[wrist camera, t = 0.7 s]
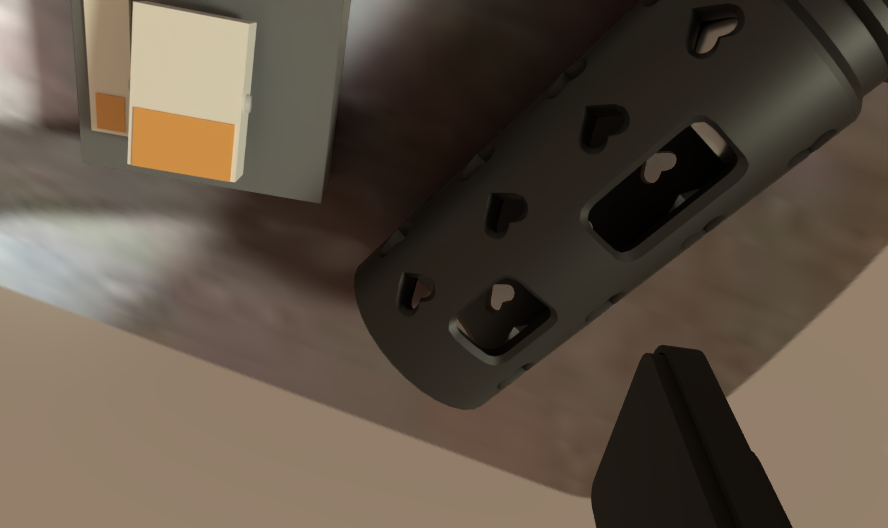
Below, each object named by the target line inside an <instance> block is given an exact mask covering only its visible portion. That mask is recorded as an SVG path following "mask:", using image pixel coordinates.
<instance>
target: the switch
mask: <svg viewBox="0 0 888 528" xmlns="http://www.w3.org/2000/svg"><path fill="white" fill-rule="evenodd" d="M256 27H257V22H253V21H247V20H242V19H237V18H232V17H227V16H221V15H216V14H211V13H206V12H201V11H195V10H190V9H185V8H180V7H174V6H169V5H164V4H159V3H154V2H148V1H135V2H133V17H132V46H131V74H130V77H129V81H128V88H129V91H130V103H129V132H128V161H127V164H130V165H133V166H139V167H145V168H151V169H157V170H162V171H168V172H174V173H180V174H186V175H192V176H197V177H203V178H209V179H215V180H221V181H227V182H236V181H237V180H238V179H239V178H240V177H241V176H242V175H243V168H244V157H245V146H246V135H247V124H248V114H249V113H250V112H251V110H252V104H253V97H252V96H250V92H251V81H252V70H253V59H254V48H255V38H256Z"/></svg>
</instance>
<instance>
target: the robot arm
mask: <svg viewBox="0 0 888 528" xmlns="http://www.w3.org/2000/svg"><path fill="white" fill-rule="evenodd" d="M591 502H592V509H593V514H594V519H595V523H596V528H792V525H791V524H790V521H789V519H788V517H787V515H786V513H785V511H784V510H783V507H782V505H781V503H780V501H779V499H778V497H777V495H776V493H775V491H774V489H773V487H772V485H771V483H770V481H769V479H768V477H767V475H766V473H765V471H764V469H763V467H762V465H761V462H760V461H759V459H758V458H757V456H756V455H755V453H754V452H752V451H751V449H750V447H749V445H748V443H747V441H746V439H745V437H744V435H743V433H742V431H741V429H740V427H739V425H738V422H737V420H736V418H735V416H734V414H733V412H732V410H731V408H730V406H729V404H728V402H727V400H726V398H725V396H724V394H723V392H722V389H721V387H720V385H719V383H718V381H717V379H716V377H715V375H714V373H713V371H712V369H711V367H710V365H709V363H708V361H707V359H706V357H705V355H704V354H703V352H702V351H700V350H696V349H689V348H681V347H674V346H667V345H661V346H659V347H658V348H657V349H656V350H655V352H654V354H652V353H645V354H644V355H643V356H642V358H641V360H640V362H639V365H638V367H637V370H636V372H635V375H634V378H633V380H632V383H631V385H630V388H629V391H628V393H627V396H626V398H625V401H624V403H623V406H622V409H621V411H620V414H619V416H618V419H617V422H616V424H615V427H614V429H613V432H612V434H611V437H610V440H609V442H608V445H607V447H606V450H605V453H604V455H603V458H602V460H601V463H600V465H599V468H598V471H597V473H596V476H595V478H594V481H593V485H592V493H591Z"/></svg>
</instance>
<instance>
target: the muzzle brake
mask: <svg viewBox="0 0 888 528" xmlns="http://www.w3.org/2000/svg"><path fill="white" fill-rule="evenodd" d="M882 82H887V83H888V0H639V1H638V2H637V3H636V4H635V5H634V6H633V7H632V8H631V9H630V10H629V11H628V12H627V13H626V14H625V15H624V16H623V17H621V18H620V19H619V20H618V21H617V22H616V23H615V24H614V25H613V26H612V27H611V28H610V29H609V30H608V31H607V32H606V33H605V34H604V35H602V36H601V37H600V38H599V39H598V40H597V41H596V42H595V43H594V44H593V45H592V46H591V47H590V48H589V49H588V50H587V51H586V52H585V53H583V54H582V55H581V56H580V57H579V58H578V59H577V60H576V61H575V62H574V63H573V64H572V65H571V66H570V67H569V68H568V69H566V70H565V71H564V72H563V73H562V74H561V75H560V76H559V77H558V78H557V79H556V80H555V81H554V82H553V83H552V84H551V85H550V86H549V87H548V88H546V89H545V90H544V91H543V92H542V93H541V94H540V95H539V96H538V97H537V98H536V99H535V100H534V101H533V102H532V103H531V104H530V105H529V106H527V107H526V108H525V109H524V110H523V111H522V112H521V113H520V114H519V115H518V116H517V117H516V118H515V119H514V120H513V121H512V122H511V123H509V124H508V125H507V126H506V127H505V128H504V129H503V130H502V131H501V132H500V133H499V134H498V135H497V136H496V137H495V138H494V139H493V140H491V141H490V142H489V143H488V144H487V145H486V146H485V147H484V148H483V149H482V150H481V151H480V152H479V153H478V154H477V155H476V156H475V157H473V158H472V159H471V160H470V161H469V162H468V163H467V164H466V165H465V166H464V167H463V168H462V169H461V170H460V171H459V172H458V173H457V174H456V175H455V176H453V177H452V178H451V179H450V180H449V181H448V182H447V183H446V184H445V185H444V186H443V187H442V188H441V189H440V190H439V191H438V192H437V193H436V194H434V195H433V196H432V197H431V198H430V199H429V200H428V201H427V202H426V203H425V204H424V205H423V206H422V207H421V208H420V209H419V210H418V211H416V212H415V213H414V214H413V215H412V216H411V217H410V218H409V219H408V220H407V221H406V222H405V223H404V224H403V225H402V226H401V227H400V228H398V229H397V230H396V231H395V232H394V233H393V234H392V235H391V236H390V237H389V238H388V239H387V240H386V241H385V242H384V243H383V244H382V245H381V246H380V247H378V248H377V249H376V250H375V251H374V252H373V253H372V254H371V255H370V256H369V257H368V258H367V259H366V260H365V261H364V262H363V263H362V264H360V265H359V266H358V268H357V271H356V274H355V282H354V288H355V294H356V300H357V304H358V307H359V310H360V313H361V316H362V319H363V321H364V323H365V325H366V327H367V329H368V331H369V333H370V335H371V336H372V338H373V339H374V341H375V342H376V344H377V346H378V347H379V349H380V350H381V351H382V352H383V354H384V355H385V356H386V358H387V359H388V360H389V361H390V363H391V364H392V365H393V366H394V367H395V368H396V369H397V370H398V371H399V372H400V373H401V374H402V375H403V376H404V377H405V378H406V379H407V380H408V381H409V382H411V383H412V384H413V385H414V386H415V387H417V388H418V389H419V390H420V391H422V392H423V393H425V394H426V395H428V396H430V397H431V398H433V399H434V400H436V401H438V402H440V403H443V404H445V405H447V406H450V407H454V408H458V409H463V410H468V409H475V408H478V407H480V406H482V405H483V404H484V403H486V402H487V401H488V400H490V399H491V398H492V397H493V396H495V395H496V394H497V393H499V392H500V391H501V390H503V389H504V388H505V387H507V386H508V385H509V384H511V383H512V382H513V381H514V380H516V379H517V378H518V377H520V376H521V375H522V374H523V373H524V372H525V371H527V370H529V369H530V368H531V367H533V366H534V365H535V364H537V363H538V362H539V361H541V360H542V359H543V358H545V357H546V356H547V355H549V354H550V353H551V352H552V351H554V350H555V349H556V348H558V347H559V346H560V345H562V344H563V343H564V342H566V341H567V340H568V339H570V338H571V337H572V336H573V335H575V334H576V333H577V332H579V331H580V330H581V329H583V328H584V327H585V326H587V325H588V324H589V323H590V322H592V321H593V320H594V319H596V318H597V317H598V316H600V315H601V314H602V313H604V312H605V311H606V310H607V309H609V308H610V307H611V306H612V305H613V304H615V303H617V302H618V301H619V300H621V299H622V298H623V297H625V296H626V295H627V294H628V293H630V292H631V291H632V290H634V289H635V288H636V287H638V286H639V285H640V284H642V283H643V282H644V281H646V280H647V279H648V278H649V277H651V276H652V275H653V274H655V273H656V272H657V271H659V270H660V269H661V268H663V267H664V266H665V265H666V264H668V263H669V262H670V261H672V260H673V259H674V258H676V257H677V256H678V255H680V254H681V253H682V252H684V251H685V250H686V249H687V248H689V247H690V246H691V245H693V244H694V243H695V242H697V241H698V240H699V239H701V238H702V237H703V236H704V235H705V234H706V233H707V232H709V231H711V230H712V229H714V228H715V227H716V226H718V225H719V224H720V223H722V222H723V221H724V220H725V219H727V218H728V217H729V216H731V215H732V214H733V213H735V212H736V211H737V210H739V209H740V208H741V207H743V206H744V205H745V204H746V203H748V202H749V201H750V200H752V199H753V198H754V197H756V196H757V195H758V194H760V193H761V192H762V191H763V190H765V189H766V188H767V187H769V186H770V185H771V184H773V183H774V182H775V181H777V180H778V179H779V178H781V177H782V176H783V175H784V174H786V173H787V172H788V171H790V170H791V169H792V168H794V167H795V166H796V165H798V164H799V163H800V162H801V161H803V160H804V159H805V158H807V157H808V156H809V155H810V154H811V153H812V152H814V151H815V150H817V149H818V148H820V147H821V146H822V145H824V144H825V143H826V142H828V141H829V140H830V139H832V138H833V137H834V136H836V135H837V134H838V133H840V132H841V131H842V130H843V129H845V128H846V127H847V126H849V125H850V124H851V123H853V122H854V121H855V120H856V119H857V117H858V116H859V114H860V112H861V108H862V100H863V97H864V96H865V95H866V94H868V93H869V92H870V91H872V90H873V89H874V88H876V87H877V86H878V85H880V84H881V83H882ZM655 153H672V154H674V155H676V158H677V161H676V164H675V166H674V167H673V168H672V169H670V170H667V171H662V172H661V174H660V177H659V179H658V180H657V181H656V182H655V183H650V182H647V181H646V180H645V178H644V171H645V166H646V162H647V160H648V159H649V158H650V157H651V156H652V155H654V154H655ZM588 221H590V222H591V223H592V225H593V229H592V227H591V225H590V224H589V222H588ZM417 280H418V281H420V282H421V283H422V284H423V285H425V286H426V287H427V288H428V289H429V290H431V291H432V293H431V294H430V295H429V296H428V297H426V298H421V299H420V301H419V304H418V305H417V307H416V308H415V309H413V308H412V305H411V303H412V297H413V293H414V290H415V286H416V283H417ZM494 284H508V285H511V286H512V287H513V288H514V292H515V294H514V298H513V299H512V300H510V301H505V302H503V303H502V305H501V308H500V310H495V309H493V307H492V306H491V296H492V289H493V285H494ZM456 319H458V320H459V322H460V323H461V324H462V326H463V327H464V329H465V330H466V332H467V334H468V336H469V337H470V338H469V337H468V336H467V335H466V334H464V333H463V332H462V331H461V330H460V329H459V328H458V327H457V326H456Z"/></svg>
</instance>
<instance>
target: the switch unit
mask: <svg viewBox="0 0 888 528" xmlns="http://www.w3.org/2000/svg"><path fill="white" fill-rule="evenodd" d="M135 1H148V2H154V3H159V4H164V5H169V6H174V7H180V8H185V9H190V10H195V11H201V12H206V13H211V14H216V15H221V16H227V17H232V18H237V19H242V20H247V21H253V22H257V27H256V38H255V48H254V59H253V70H252V81H251V92H250V96H252V97H253V104H252V110H251V112H250V113H249V114H248V124H247V135H246V146H245V157H244V168H243V175H242V176H241V177H240V178H239V179H238V180H237V181H236V182H227V181H221V180H215V179H209V178H203V177H197V176H192V175H186V174H180V173H174V172H168V171H162V170H157V169H151V168H145V167H139V166H133V165H130V164H127V161H128V132H129V103H130V91H129V88H128V81H129V77H130V74H131V46H132V17H133V2H135ZM350 3H351V0H71V10H72V24H73V38H74V52H75V66H76V81H77V95H78V109H79V123H80V138H81V152H82V163H85V164H91V165H97V166H102V167H108V168H114V169H120V170H126V171H132V172H138V173H144V174H149V175H155V176H161V177H167V178H173V179H179V180H185V181H190V182H196V183H202V184H208V185H214V186H220V187H226V188H232V189H237V190H243V191H249V192H255V193H261V194H267V195H273V196H278V197H284V198H290V199H296V200H302V201H308V202H314V203H320V204H321V202H322V199H323V196H324V193H325V190H326V187H327V184H328V182H329V179H330V171H331V163H332V155H333V146H334V138H335V129H336V121H337V113H338V104H339V96H340V87H341V79H342V70H343V62H344V54H345V45H346V37H347V28H348V20H349V12H350Z"/></svg>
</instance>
